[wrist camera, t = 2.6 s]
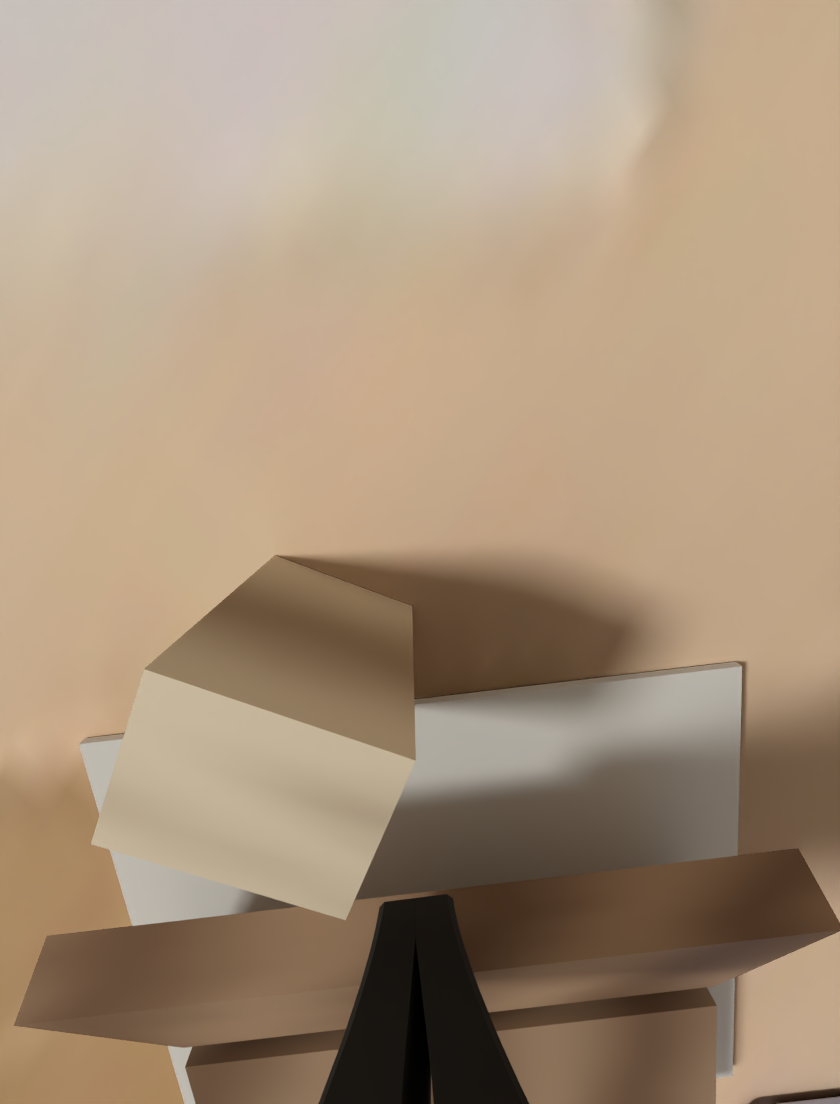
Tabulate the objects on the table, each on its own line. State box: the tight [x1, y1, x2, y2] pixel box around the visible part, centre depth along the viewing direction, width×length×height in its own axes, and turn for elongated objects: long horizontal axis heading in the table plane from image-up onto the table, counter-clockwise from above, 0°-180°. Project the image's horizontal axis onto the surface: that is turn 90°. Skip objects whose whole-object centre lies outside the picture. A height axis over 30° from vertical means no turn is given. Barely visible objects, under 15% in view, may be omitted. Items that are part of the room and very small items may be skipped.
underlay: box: [79, 662, 742, 1104], centre depth 16 cm, size 19×16×1 cm
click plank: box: [14, 849, 840, 1048], centre depth 13 cm, size 16×8×1 cm
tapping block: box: [91, 556, 416, 920], centre depth 11 cm, size 7×4×3 cm
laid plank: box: [185, 987, 717, 1104], centre depth 16 cm, size 16×5×2 cm, turn 97°
